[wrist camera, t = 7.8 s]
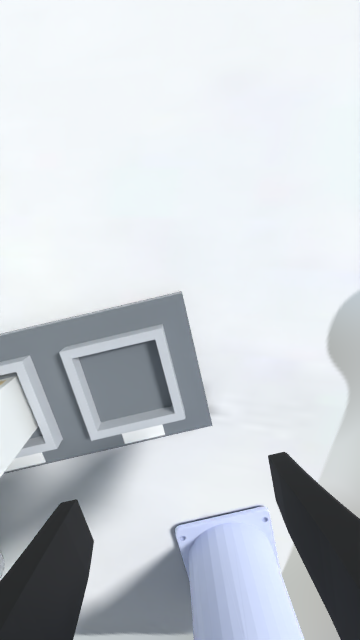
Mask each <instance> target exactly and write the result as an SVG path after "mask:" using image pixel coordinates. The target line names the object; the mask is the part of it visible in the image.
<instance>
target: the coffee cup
mask: <svg viewBox="0 0 360 640" xmlns="http://www.w3.org/2000/svg"><path fill="white" fill-rule="evenodd" d="M3 570H4V559H3V556H2V553H1V552H0V578H1V575H2V573H3Z"/></svg>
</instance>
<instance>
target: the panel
mask: <svg viewBox="0 0 360 640" xmlns="http://www.w3.org/2000/svg"><path fill="white" fill-rule="evenodd" d="M14 376H18V378H19V380H20V383H21V385H22V388H23V390H24V392H25V395H26V397H27V400H28V402H29V404H30V407H31V409H32V412H33V414H34V416H35V419H36V421H37V424H38V428H37V429H36V430H35V432H34V433H33V434H32V436H31V437H30V438H29V440H28V441H27V442H26V444H25V445H24V446H23V448H22V449H21V450H20V452H19V453H18V454H17V456H16V457H15V458H14V460H13V461H12V462H11V464H10V465H9V466H8V468H7V469H6V470H5V472H4V473H9V472H13V471H17V470H22V469H26V468H30V467H35V466H39V465H43V464H48V463H52V462H56V461H61V460H65V459H69V458H74V457H78V456H82V455H87V454H91V453H95V452H100V451H104V450H108V449H113V448H117V447H121V446H126V445H130V444H134V443H139V442H143V441H147V440H152V439H156V438H160V437H165V436H169V435H173V434H178V433H182V432H186V431H191V430H195V429H199V428H204V427H208V426H212V422H211V417H210V413H209V409H208V404H207V400H206V396H205V391H204V387H203V382H202V378H201V374H200V369H199V365H198V361H197V356H196V352H195V348H194V343H193V339H192V334H191V330H190V326H189V321H188V317H187V313H186V308H185V304H184V299H183V295H182V292H177V293H172V294H168V295H164V296H160V297H155V298H151V299H147V300H143V301H138V302H134V303H130V304H126V305H121V306H117V307H113V308H109V309H104V310H100V311H96V312H92V313H87V314H83V315H79V316H75V317H71V318H66V319H62V320H58V321H54V322H49V323H45V324H41V325H37V326H32V327H28V328H24V329H20V330H15V331H11V332H7V333H3V334H0V380H1V379H5V378H10V377H14ZM4 473H3V474H4Z"/></svg>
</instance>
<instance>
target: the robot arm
mask: <svg viewBox="0 0 360 640" xmlns="http://www.w3.org/2000/svg"><path fill="white" fill-rule="evenodd" d="M268 458H269V464H270V470H271V475H272V481H273V487H274V492H275V498H276V502H277V504H278V507H279V509H280V512H281V514H282V517H283V520H284V522H285V525H286V527H287V530H288V532H289V534H290V536H291V538H292V540H293V542H294V544H295V546H296V548H297V550H298V553H299V554H300V557H301V558H302V561H303V563H304V565H305V567H306V569H307V571H308V573H309V575H310V577H311V579H312V581H313V583H314V585H315V587H316V589H317V591H318V593H319V595H320V597H321V599H322V601H323V603H324V604H325V607H326V609H327V611H328V613H329V615H330V617H331V619H332V621H333V624H334V626H335V628H336V630H337V632H338V634H339V636H340V639H341V640H360V519H359V518H358V517H357V516H356V515H354V514H353V513H352V512H351V511H349V510H348V509H347V508H346V507H344V506H343V505H342V504H341V503H340V502H339V501H338V500H336V499H335V498H334V497H333V496H332V495H330V494H329V493H328V492H327V491H326V490H325V489H324V488H323V487H321V486H320V485H319V484H318V483H317V482H316V481H315V480H314V479H313V478H312V477H311V476H310V475H308V474H307V473H306V472H305V471H304V470H303V469H302V468H301V467H300V466H299V465H298V464H297V463H296V462H295V461H294V460H293V459H292V458H291V457H290V456H289V455H288V454H287V453H285V452H282V453H277V454H273V455H268ZM175 535H176V539H177V542H178V545H179V549H180V552H181V555H182V558H183V562H184V565H185V568H186V572H187V575H188V578H189V582H190V592H191V606H192V621H193V635H194V640H305V639H304V637H303V634H302V631H301V628H300V626H299V623H298V620H297V617H296V614H295V611H294V609H293V606H292V603H291V600H290V597H289V595H288V592H287V589H286V586H285V584H284V581H283V578H282V575H281V572H280V566H279V561H278V555H277V550H276V545H275V539H274V534H273V528H272V523H271V518H270V513H269V510H268V508H267V507H264V506H262V507H257V508H253V509H248V510H244V511H240V512H235V513H231V514H226V515H222V516H218V517H213V518H209V519H204V520H200V521H196V522H191V523H187V524H182V525H179V526H177V527H176V528H175ZM93 543H94V540H93V538H92V535H91V533H90V530H89V528H88V525H87V523H86V521H85V518H84V516H83V513H82V511H81V508H80V506H79V503H78V501H77V499H76V500H72V501H68V502H63V503H61V504H60V505H59V506H58V507H57V509H56V510H55V511H54V512H53V514H52V515H51V516H50V518H49V519H48V520H47V522H46V523H45V524H44V526H43V527H42V528H41V530H40V531H39V532H38V534H37V535H36V536H35V537H34V539H33V540H32V541H31V543H30V544H29V545H28V547H27V548H26V549H25V551H24V552H23V553H22V554H21V556H20V557H19V558H18V560H17V561H16V562H15V564H14V565H13V566H12V567H11V569H10V570H9V571H8V573H7V574H6V575H5V576H4V577H3V579H2V580H1V581H0V640H73V637H74V633H75V629H76V625H77V622H78V618H79V614H80V610H81V606H82V602H83V598H84V593H85V589H86V585H87V581H88V577H89V570H90V564H91V558H92V550H93Z"/></svg>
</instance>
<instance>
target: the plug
mask: <svg viewBox="0 0 360 640" xmlns="http://www.w3.org/2000/svg"><path fill="white" fill-rule="evenodd" d="M37 428H38V424H37V421H36V419H35V416H34V414H33V412H32V409H31V407H30V404H29V402H28V400H27V397H26V395H25V392H24V390H23V388H22V385H21V383H20V380H19V378H18V376H14V377H10V378H5V379H1V380H0V477H1V476H2V474H3V473H4V472H5V470H6V469H7V468H8V466H9V465H10V464H11V462H12V461H13V460H14V458H15V457H16V456H17V454H18V453H19V452H20V450H21V449H22V448H23V446H24V445H25V444H26V442H27V441H28V440H29V438H30V437H31V436H32V434H33V433H34V432H35V430H36V429H37Z"/></svg>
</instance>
